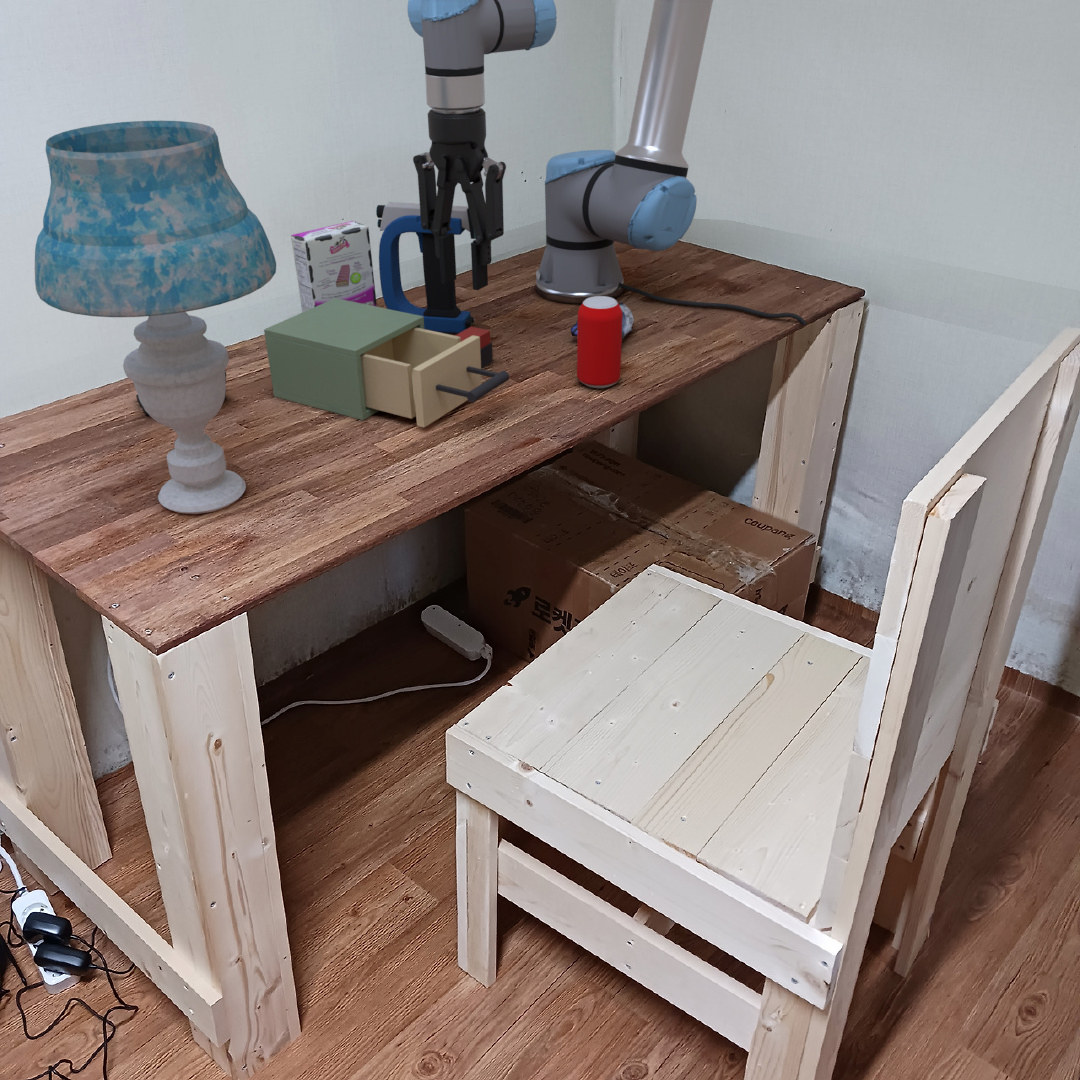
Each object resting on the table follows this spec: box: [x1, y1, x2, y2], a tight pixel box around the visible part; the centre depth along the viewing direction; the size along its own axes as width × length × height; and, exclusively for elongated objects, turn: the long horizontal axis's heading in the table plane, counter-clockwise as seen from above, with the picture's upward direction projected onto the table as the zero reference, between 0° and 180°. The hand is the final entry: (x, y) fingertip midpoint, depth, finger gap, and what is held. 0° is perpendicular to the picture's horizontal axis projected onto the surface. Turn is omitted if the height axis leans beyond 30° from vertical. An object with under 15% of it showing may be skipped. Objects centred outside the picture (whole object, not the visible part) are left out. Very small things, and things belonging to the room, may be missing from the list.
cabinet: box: [263, 298, 424, 421], centre depth 148 cm, size 16×15×10 cm
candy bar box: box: [290, 220, 378, 313], centre depth 166 cm, size 11×5×16 cm, turn 131°
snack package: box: [570, 295, 635, 345], centre depth 166 cm, size 12×6×12 cm
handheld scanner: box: [375, 201, 476, 334], centre depth 166 cm, size 5×16×20 cm, turn 78°
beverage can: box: [576, 296, 623, 389], centre depth 149 cm, size 6×6×12 cm
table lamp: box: [34, 120, 277, 515], centre depth 114 cm, size 24×24×40 cm
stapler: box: [454, 326, 494, 369], centre depth 156 cm, size 8×3×5 cm, turn 149°
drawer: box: [360, 327, 510, 428], centre depth 142 cm, size 21×14×8 cm, turn 59°
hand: (464, 284), depth 150 cm, fingers open, 5 cm apart
